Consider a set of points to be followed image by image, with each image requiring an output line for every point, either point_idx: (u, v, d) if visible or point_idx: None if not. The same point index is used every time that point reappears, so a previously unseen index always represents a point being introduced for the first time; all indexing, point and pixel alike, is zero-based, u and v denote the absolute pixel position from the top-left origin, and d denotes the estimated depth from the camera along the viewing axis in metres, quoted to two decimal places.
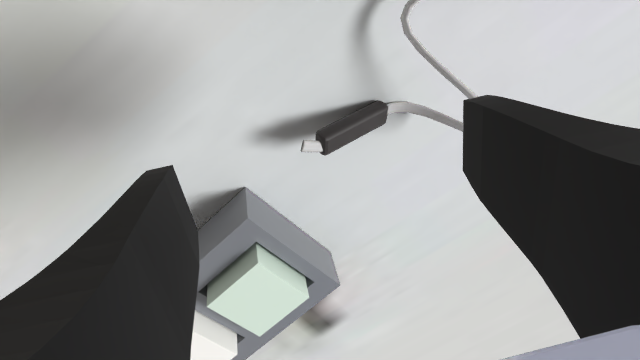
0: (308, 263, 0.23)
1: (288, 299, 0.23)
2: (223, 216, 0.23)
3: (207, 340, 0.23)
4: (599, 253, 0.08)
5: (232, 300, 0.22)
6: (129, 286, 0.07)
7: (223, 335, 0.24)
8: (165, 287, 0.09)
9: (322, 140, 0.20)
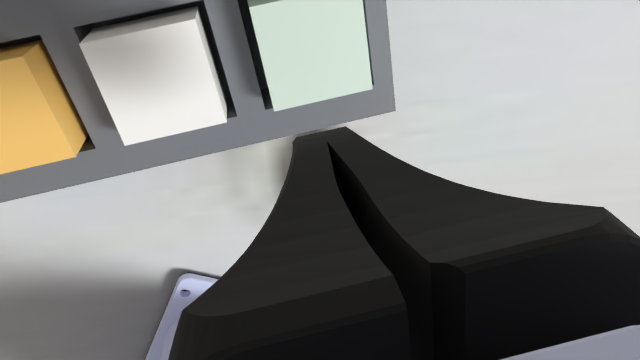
0: (388, 50, 0.16)
1: (349, 73, 0.16)
2: None
3: (207, 69, 0.15)
4: None
5: (287, 22, 0.14)
6: None
7: (219, 88, 0.16)
8: None
9: None
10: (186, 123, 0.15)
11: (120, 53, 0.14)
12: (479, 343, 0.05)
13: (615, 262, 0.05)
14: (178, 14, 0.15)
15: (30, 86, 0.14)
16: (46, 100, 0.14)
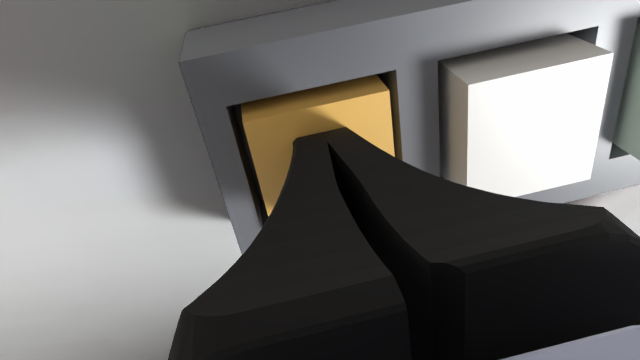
0: None
1: None
2: None
3: (598, 115, 0.11)
4: None
5: None
6: None
7: None
8: None
9: None
10: (546, 180, 0.12)
11: (510, 96, 0.11)
12: (479, 343, 0.05)
13: (615, 262, 0.05)
14: (557, 44, 0.12)
15: (383, 126, 0.11)
16: (393, 143, 0.12)
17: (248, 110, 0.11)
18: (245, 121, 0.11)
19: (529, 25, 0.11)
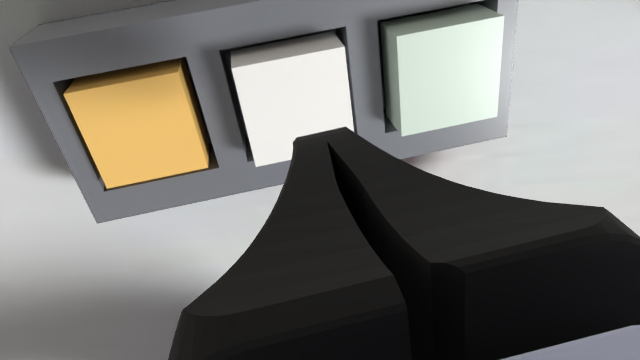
0: (510, 78, 0.17)
1: (478, 101, 0.16)
2: None
3: (347, 94, 0.15)
4: None
5: (429, 51, 0.15)
6: None
7: None
8: None
9: None
10: None
11: (268, 78, 0.14)
12: (479, 343, 0.05)
13: (615, 262, 0.05)
14: (318, 39, 0.15)
15: (179, 100, 0.15)
16: (191, 113, 0.15)
17: (74, 86, 0.14)
18: (65, 93, 0.14)
19: (287, 24, 0.14)
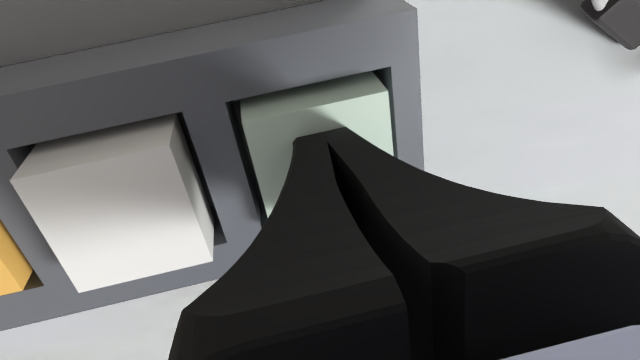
0: (421, 162, 0.13)
1: None
2: (333, 5, 0.12)
3: (186, 203, 0.11)
4: None
5: (291, 138, 0.11)
6: None
7: (203, 215, 0.12)
8: None
9: None
10: (160, 264, 0.12)
11: (68, 189, 0.10)
12: (479, 343, 0.05)
13: (615, 262, 0.05)
14: (149, 128, 0.11)
15: None
16: None
17: None
18: None
19: (97, 113, 0.11)
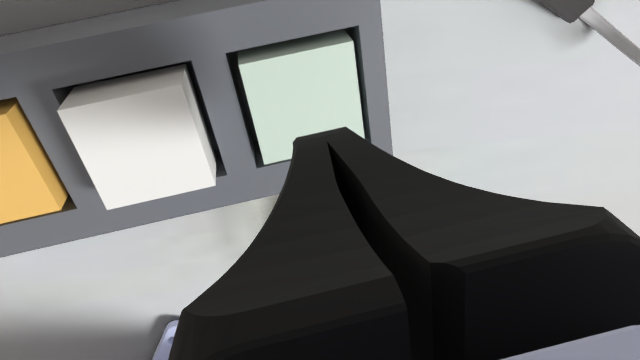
0: (387, 108, 0.16)
1: None
2: None
3: (194, 134, 0.14)
4: None
5: (277, 79, 0.14)
6: None
7: (207, 149, 0.15)
8: None
9: None
10: (173, 187, 0.15)
11: (101, 119, 0.13)
12: (479, 343, 0.05)
13: (615, 262, 0.05)
14: (164, 74, 0.14)
15: (13, 143, 0.14)
16: (30, 156, 0.14)
17: None
18: None
19: (124, 60, 0.13)
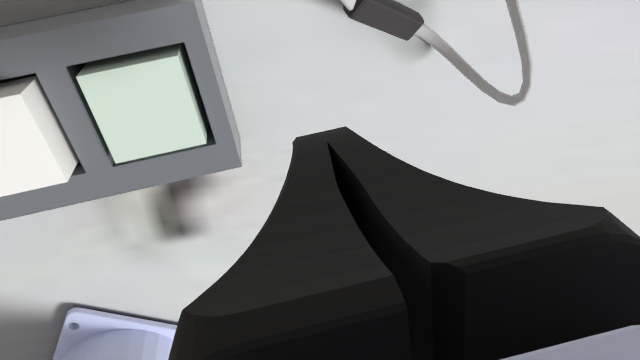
0: (225, 113, 0.18)
1: (181, 131, 0.17)
2: (153, 0, 0.17)
3: (39, 136, 0.16)
4: None
5: (114, 89, 0.16)
6: None
7: (61, 150, 0.17)
8: None
9: None
10: (27, 183, 0.17)
11: None
12: (479, 343, 0.05)
13: (615, 262, 0.05)
14: (15, 85, 0.16)
15: None
16: None
17: None
18: None
19: None
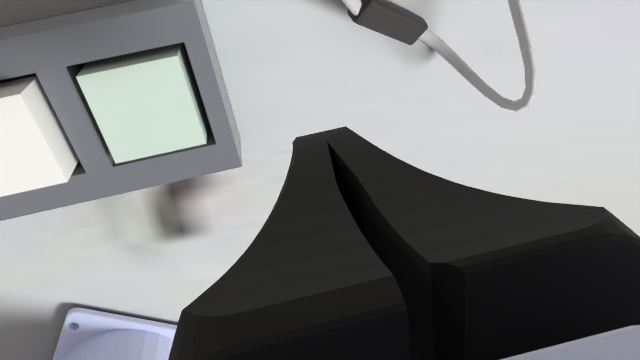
0: (225, 113, 0.18)
1: (181, 131, 0.17)
2: (153, 0, 0.17)
3: (39, 136, 0.16)
4: None
5: (114, 89, 0.16)
6: None
7: (61, 150, 0.17)
8: None
9: (366, 1, 0.17)
10: (27, 183, 0.17)
11: None
12: (479, 343, 0.05)
13: (615, 262, 0.05)
14: (15, 85, 0.16)
15: None
16: None
17: None
18: None
19: None
